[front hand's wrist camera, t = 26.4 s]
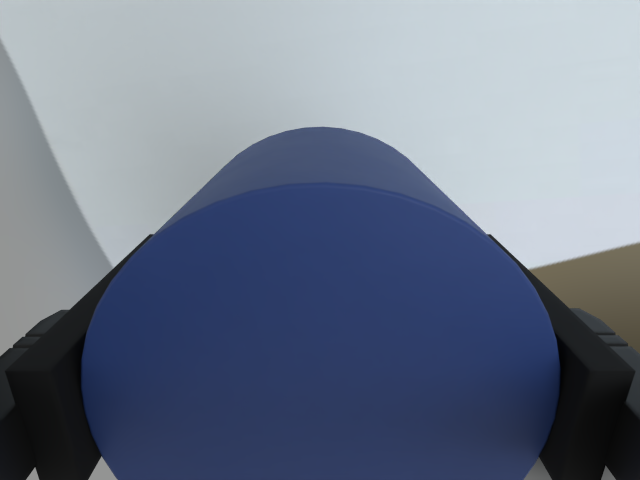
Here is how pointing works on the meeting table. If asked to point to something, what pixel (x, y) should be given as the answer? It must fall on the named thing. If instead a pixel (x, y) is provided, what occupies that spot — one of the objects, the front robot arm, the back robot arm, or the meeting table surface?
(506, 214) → the meeting table surface
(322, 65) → the meeting table surface
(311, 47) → the meeting table surface
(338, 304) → the can
